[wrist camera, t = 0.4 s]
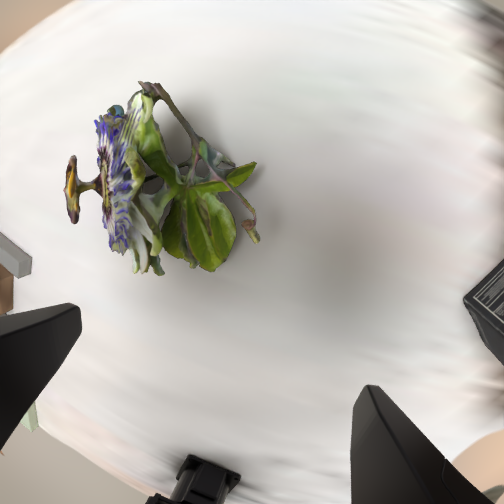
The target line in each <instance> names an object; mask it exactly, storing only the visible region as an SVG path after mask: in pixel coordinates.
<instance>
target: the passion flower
mask: <svg viewBox="0 0 504 504" xmlns="http://www.w3.org/2000/svg"><path fill="white" fill-rule="evenodd" d="M138 83H139V84H140V85H141V86H142V88H143V89H142V90H140V91H138V92H136V93H135V94H134V95H133V96H132V97H131V99H130V100H129V102H128V108H127V112H126V114H124V109H123V108H122V106H120V105H113V106H112V107H111V108H109V109H108V110H107V113H108V115H107V114H105V115H104V116H103V118H102V115H100V116H99V119H100V122H98V121H97V120H94V122H95V125H96V127H97V129H96V133H97V134H98V144H97V151H98V154H99V156H98V158H97V163H98V166H99V169H100V172H101V173H100V174H99V175H98V177H97V178H95V179H94V180H93V181H91V182H82V181H80V180H79V178H78V176H77V167H76V166H77V158H76V156H75V155H73V156H71V158H70V160H69V164H68V166H67V170H66V186H65V188H64V190H63V191H64V192H65V196H66V201H67V211H68V215H69V217H70V219H71V222H72V223H73V224H77V222H78V220H79V212H80V206H79V197H80V194H81V193H82V192H84V191H87V190H90V189H93V190H95V191H96V192H97V193H98V194H99V195H100V196H101V197H102V198H103V204H102V211H103V220H102V221H103V223H104V228H105V229H107V230H108V233H109V246H110V248H111V250H112V252H114V251H117V252H118V254H119V253H120V252H121V254H122V256H123V255H124V253H125V252H126V250H127V249H129V250H130V253H131V256H132V259H133V273H134V274H135V273H137V272H138V270H139V269H140V270H141V274H143V273H144V272H148V269H149V266H150V265H151V266H152V267H153V271H154V273H155V274H157V275H158V276H162V275H164V274H165V272H164V271H163V270H162V267H161V266H160V258H159V255H158V254H159V253H160V251H161V249H162V247H163V248H164V249H165V251H167V253H169V254H170V255H172V256H174V257H176V258H181V259H183V258H184V260H186V261H188V262H189V263H190V268H193V269H194V268H196V266H197V265H198V264H199V263H200V265H199V267H201V268H203V269H205V270H207V271H209V272H214V271H215V269H216V268H217V267H219V266H220V265H221V264H222V263H223V262H225V261H226V259H227V257H228V255H229V253H230V250H231V248H232V245H233V243H234V240H235V238H236V225H235V220H234V217H233V216H232V214H231V212H230V211H229V209H228V208H227V206H226V205H225V204H224V202H223V200H222V199H221V198H220V196H219V192H225V191H226V192H228V191H230V190H231V192H232V193H233V194H235V195H237V196H238V198H239V199H240V200H241V201H242V203H243V204H244V205H245V206H246V207H247V208H248V209H249V210H250V211H251V212H252V214H253V215H254V220H251V219H247V220H244V221H243V222H242V224H241V225H242V227H244V228H245V230H246V231H247V233H248V234H249V236H250V238H251V239H252V240H253V242H254V243H255V244H257V243H258V242H259V241H260V236H259V234H258V233H257V231H256V229H255V225H256V214H255V209H254V208H252V207H251V205H250V204H249V203H248V202H247V200H246V199H245V198H244V197H243V196H242V195H241V193H239V192H238V191H237V190H236V189H235V187H237V186H239V185H240V184H242V183H243V182H244V181H246V180H247V179H248V177H249V176H250V175H251V174H252V172H253V170H254V168H255V166H256V164H257V163H256V162H254V161H253V162H252V163H250V164H246V165H243V166H240V167H237V168H233V169H227V170H223V169H219V168H216V167H217V166H218V165H219V163H220V162H221V161H222V162H224V163H227V164H229V165H231V166H233V167H236V166H235V164H234V163H232V162H231V161H229V159H228V158H226V157H225V156H224V155H223V154H221V153H219V152H218V151H216V150H215V149H213V148H212V147H210V145H209V144H208V143H207V142H206V141H205V140H204V139H203V138H201V137H199V136H198V135H197V134H196V133H195V132H194V131H193V129H192V128H191V126H190V125H189V123H188V122H187V121H186V120H185V119H184V117H183V116H182V115H181V113H180V112H179V110H178V109H177V108H176V106H175V105H174V103H173V102H172V100H171V98H170V95H169V94H168V93H167V92H166V91H165V90H164V89H163V87H162V86H161V85H160V83H157V84H156V83H154V84H152V83H150V82H145V83H143V82H142V81H138ZM145 91H146V92H145ZM159 99H162V100H164V101H165V102H166V104H167V105H168V106H169V108H170V110H171V111H172V112H173V114H174V116H175V117H176V118H177V119H178V120H179V122H180V123H181V125H182V126H183V127H184V129H185V130H186V132H187V133H188V134H189V136H190V138H191V145H192V155H191V157H190V159H189V160H187V161H186V162H184V163H182V164H180V165H178V166H177V165H176V164H175V163H174V162H173V161H172V160H171V158H170V157H169V155H168V154H167V152H166V149H165V145H164V142H163V138H162V136H161V134H160V131H159V125H158V124H157V123H156V122H155V121H154V119H153V115H152V111H153V106H154V105H155V103H156V102H157V101H158V100H159ZM138 154H139V155H140V156H141V157H142V159H143V160H144V162H145V163H147V165H148V166H149V167H150V168H151V169H152V170H153V171H154V172H155V173H156V174H155V175H152V176H148V177H145V175H146V169H145V167H144V165H143V163H142V161H141V159H140V157H139V155H138ZM200 159H202V160H203V162H204V163H205V164H206V165H207V166H208V168H209V169H210V173H209V175H208V176H206V177H205V178H203V177H199V176H196V173H195V168H196V165H197V162H198V161H199V160H200ZM184 166H188V167H189V173H188V174H187V175H181V174H180V172H179V169H178V168H181V167H184ZM157 177H160V178H162V179H163V181H164V182H163V186H162V187H161V189H160V190H159V191H158V192H157V193H155V194H153V195H149V194H145V193H143V191H142V188H143V183H144V182H147V181H149V180H152V179H154V178H157ZM172 198H173V201H172V203H171V206H170V207H171V208H170V212H169V215H168V216H167V217H166V219H165V222H164V224H163V227H162V230H161V232H160V229H159V221H160V218H161V216H162V215H163V212H164V208H165V206H166V205H167V203H168V202H169V201H170V200H171V199H172ZM185 234H186V235H185Z"/></svg>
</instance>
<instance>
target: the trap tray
mask: <svg viewBox="0 0 504 504" xmlns="http://www.w3.org/2000/svg"><path fill="white" fill-rule="evenodd" d="M0 263H1V264H2V265H3V266H4V267H5V268H6V269H7V270H9V271H10V272H11V273H12V274H13V275H14V276H15V277H17V278H18V279H19V278H21V277H24V276H27V275H29V274H31V263H32V257H30V256H29V255H28V254H26V253H25V252H24V251H22V250H21V249H20V248H19V247H17V246H16V245H15V244H14V243H12V242H11V241H10V240H9V239H8V238H6V237H5V236H4V235H3V234H2V233H0ZM2 316H7V315H6V314H5V313H4V314H2V315H0V317H2ZM20 422H21V423H22V424H23V425H24V426H25V427H26V428H27V429H29V430H30V431H31V432H33V431H34V430H35V429H36V428H37V427H38V421H37V415H36V408H35V401H34V403H33V404H32V405H31V407H30V408H29V410H28V411H27V412H26V414H25V415H24V417H23V418H22V419H21V421H20Z"/></svg>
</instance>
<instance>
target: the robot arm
mask: <svg viewBox="0 0 504 504" xmlns="http://www.w3.org/2000/svg"><path fill="white" fill-rule="evenodd" d="M81 332H82V321H81V311H80V308H79V307H78V306H77V305H74V304H72V303H64V304H60V305H55V306H50V307H45V308H41V309H36V310H31V311H26V312H21V313H16V314H12V315H7V316H2V317H0V451H1V449H2V448H3V446H4V445H5V443H6V441H7V440H8V438H9V437H10V435H11V434H12V433H13V431H14V429H15V428H16V427H17V425H18V424H19V422H20V421H21V419H22V418H23V417H24V415H25V414H26V412H27V411H28V410H29V408H30V407H31V405H32V404H33V403H34V401H35V400H36V399H37V397H38V396H39V394H40V393H41V392H42V390H43V389H44V388H45V386H46V385H47V384H48V382H49V381H50V380H51V378H52V377H53V376H54V375H55V373H56V372H57V370H58V369H59V368H60V366H61V365H62V363H63V362H64V360H65V358H66V357H67V355H68V354H69V352H70V350H71V349H72V347H73V346H74V344H75V342H76V341H77V339H78V338H79V336H80V334H81ZM350 461H351V504H494V503H493V502H492V501H490V500H489V499H488V498H487V497H486V496H485V495H484V494H482V493H481V492H480V491H479V490H478V489H477V488H476V487H474V486H473V485H472V484H471V483H470V482H469V481H468V480H467V479H466V478H465V477H464V476H463V475H462V474H461V473H460V472H459V471H458V470H457V469H456V468H455V467H454V466H453V465H452V464H451V463H450V462H449V461H448V460H447V459H445V457H444V456H443V454H442V453H441V452H440V451H439V450H438V449H437V448H436V447H435V446H434V445H433V444H432V443H431V442H430V440H429V439H428V438H427V437H426V436H425V435H424V434H423V433H422V432H421V431H420V430H419V429H418V428H417V426H416V425H415V424H414V423H413V422H412V421H411V420H410V419H409V418H408V417H407V416H406V415H405V414H404V412H403V411H402V410H401V409H400V408H399V407H398V406H397V405H396V404H395V403H394V402H393V401H392V400H391V398H390V397H389V396H388V395H387V394H386V393H385V392H384V391H383V390H382V389H381V388H380V387H379V386H376V385H365V386H364V388H363V389H362V391H361V393H360V395H359V397H358V399H357V400H356V402H355V404H354V407H353V418H352V435H351V449H350ZM176 479H177V480H178V483H177V485H176V487H175V489H174V491H173V493H172V495H171V497H170V499H168V498H166V497H163V496H161V494H158V493H156V494H155V496H154V497H152V496H149V498H148V500H147V502H146V503H145V504H224V502H225V499H226V496H227V494H228V493H229V492H230V491H231V490H232V489H233V488H234V487H235V486H236V485H237V483H238V482H239V481H240V479H241V476H240V475H237V474H235V473H232V472H230V471H227V470H224V469H222V468H219V467H217V466H215V465H212V464H210V463H208V462H205V461H203V460H201V459H198V458H196V457H194V456H192V455H188V456H187V458H186V460H185V462H184V464H183V465H182V467H181V469H180V471H179V473H178V475H177V477H176Z"/></svg>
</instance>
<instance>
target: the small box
mask: <svg viewBox="0 0 504 504" xmlns="http://www.w3.org/2000/svg"><path fill="white" fill-rule="evenodd" d="M464 304H465V306H466V308H467V309H468V310H469V313H470V315H471V316H472V318H473V320H474V322H475V324H476V326H477V329H478V330H479V333H480V336H481V338H482V340H483V342H484V343H485V346H486V347H487V348H488V349H489V350H490V351H491V352H492V353H493V354H494V355H495V357H496V358H497V359H498V360H499V361H500V362H501V363H502V364H503V366H504V260H503V261H502V262H501V263H500V264H499V265H498V266H497V267H496V268H495V269H494V270H493V271H492V272H491V273H490V274H489V275H488V276H487V277H486V278H485V279H484V280H483V281H482V282H481V283H480V284H479V285H478V286H476V287H475V288H474V289H473V290H472V291H471V292H470V293H469V294H468V295H467V296H465V297H464Z"/></svg>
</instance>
